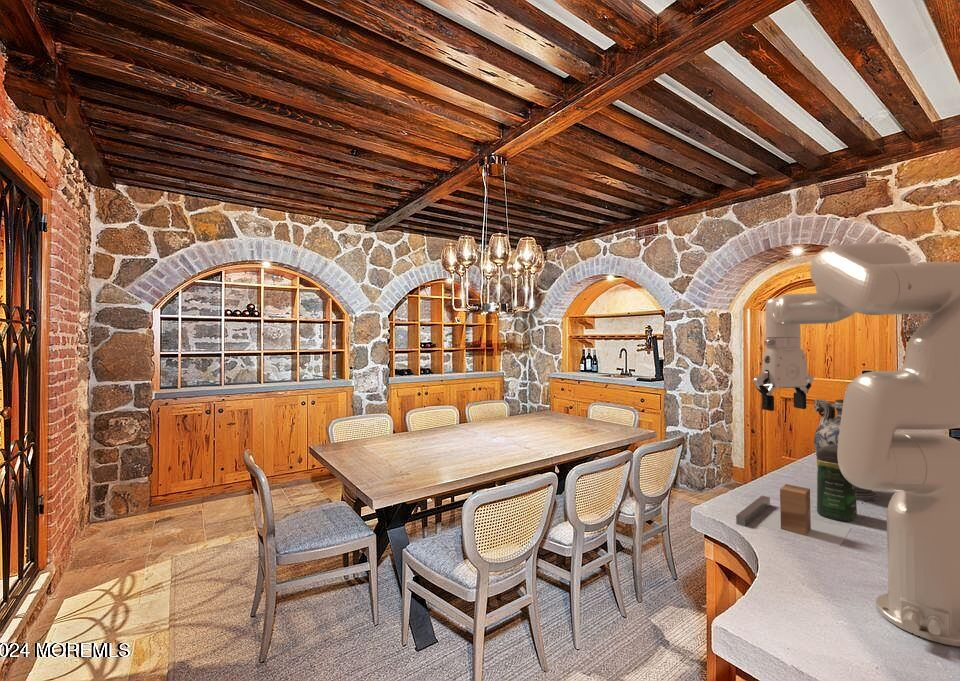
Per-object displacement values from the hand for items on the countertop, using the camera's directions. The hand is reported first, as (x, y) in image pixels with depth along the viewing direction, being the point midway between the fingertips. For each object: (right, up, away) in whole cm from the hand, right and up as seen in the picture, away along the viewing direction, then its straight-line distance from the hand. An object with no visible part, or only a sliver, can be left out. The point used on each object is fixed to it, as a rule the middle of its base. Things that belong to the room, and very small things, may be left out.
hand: (784, 409), depth 114 cm
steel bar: (-6, -29, +2) cm, 30 cm away
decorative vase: (+32, -28, +16) cm, 46 cm away
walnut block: (-2, -29, -7) cm, 29 cm away
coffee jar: (+15, -29, +1) cm, 32 cm away
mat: (+1, -29, -6) cm, 29 cm away
